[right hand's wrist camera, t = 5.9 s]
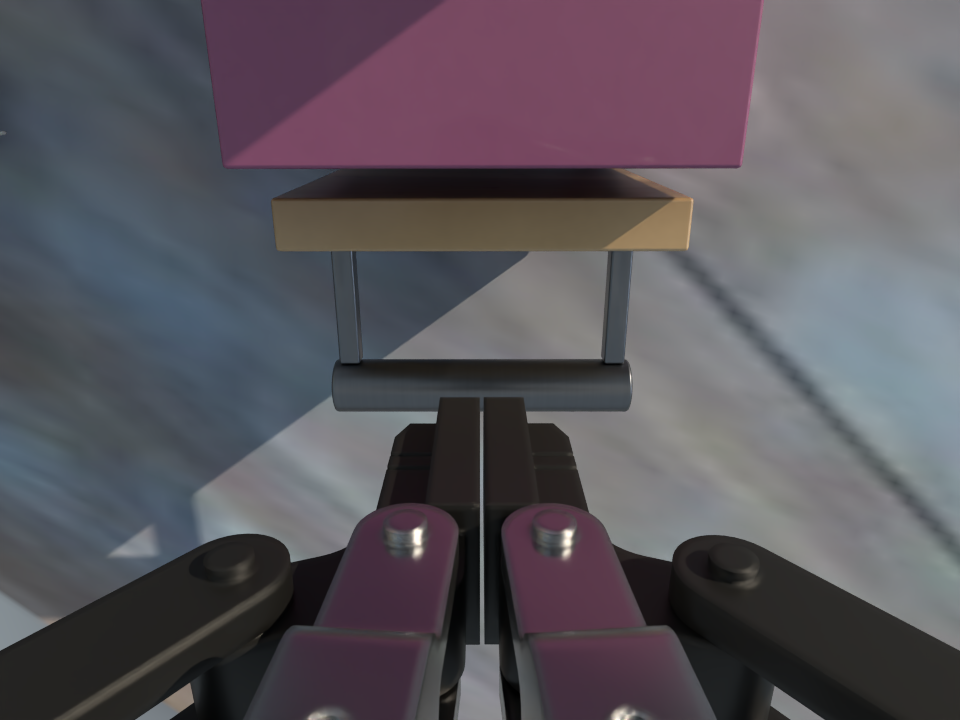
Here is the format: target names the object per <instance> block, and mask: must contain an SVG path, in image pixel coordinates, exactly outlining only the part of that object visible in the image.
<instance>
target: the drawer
mask: <svg viewBox="0 0 960 720" xmlns="http://www.w3.org/2000/svg"><path fill="white" fill-rule="evenodd" d="M271 207H272V216H273V225H274V234H275V243H276V249H277V250H278V251H331V257H332V269H333V282H334V294H335V306H336V319H337V331H338V343H339V356H340V359H339V360H337V361H336V363H335V365H334V369H333V375H332V398H333V403H334V406H335V409H336V410H337V411H438V408H439V400H440V397H480V411H484V397H523V398H524V403H525V410H526V411H627V410H628V409H629V407H630V404H631V399H632V373H631V368H630V365H629V362H628V361H627V360H625V359H624V356H625V344H626V332H627V319H628V307H629V295H630V282H631V270H632V258H633V251H686V250H687V249H688V247H689V238H690V229H691V220H692V211H693V199H692V198H690V197H688V196H685V195H683V194H681V193H678V192H676V191H674V190H671V189H669V188H667V187H664V186H662V185H659V184H657V183H655V182H652V181H650V180H648V179H645V178H643V177H641V176H638V175H636V174H634V173H631V172H629V171H627V170H624V169H622V168H518V169H340V170H338V171H336V172H333V173H331V174H329V175H326V176H324V177H322V178H319V179H317V180H315V181H312V182H310V183H308V184H305V185H303V186H301V187H299V188H296V189H294V190H292V191H289V192H287V193H285V194H282V195H280V196H278V197H275V198H273V199H272V200H271ZM356 251H608V263H607V278H606V293H605V308H604V322H603V337H602V352H601V357H602V359H362V357H363V352H362V337H361V322H360V307H359V293H358V278H357V263H356Z"/></svg>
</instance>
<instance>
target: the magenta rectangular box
mask: <svg viewBox="0 0 960 720" xmlns="http://www.w3.org/2000/svg"><path fill="white" fill-rule="evenodd" d="M763 3H764V0H201V5H202V13H203V20H204V28H205V35H206V43H207V50H208V58H209V65H210V73H211V80H212V88H213V95H214V103H215V110H216V118H217V125H218V133H219V140H220V148H221V155H222V163H223V166H224V167H225V168H227V169H518V168H739V167H741V165H742V160H743V153H744V145H745V138H746V130H747V123H748V115H749V108H750V100H751V93H752V85H753V78H754V70H755V63H756V55H757V48H758V40H759V33H760V25H761V18H762V10H763Z"/></svg>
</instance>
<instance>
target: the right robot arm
mask: <svg viewBox="0 0 960 720" xmlns="http://www.w3.org/2000/svg"><path fill="white" fill-rule="evenodd" d="M483 514H484V630H485V644H499V658H500V674H499V696H500V704H501V712H502V720H790V719H789V718H787V717H786V716H784V715H783V714H781V713H780V712H779V711H777V710H776V709H774V708H773V707H772V706H770V705H771V700H772V695H773V690H774V685H775V686H776V687H778V688H779V689H781V690H782V691H783V692H785V693H786V694H788V695H789V696H791V697H792V698H794V699H795V700H797V701H798V702H800V703H801V704H803V705H804V706H806V707H807V708H808V709H810V710H811V711H813V712H814V713H816V714H817V715H819V716H820V717H822V718H823V719H825V720H960V651H959V650H957V649H955V648H953V647H952V646H950V645H948V644H946V643H944V642H942V641H940V640H938V639H936V638H934V637H932V636H931V635H929V634H927V633H925V632H923V631H921V630H919V629H917V628H915V627H913V626H911V625H910V624H908V623H906V622H904V621H902V620H900V619H898V618H896V617H894V616H892V615H890V614H889V613H887V612H885V611H883V610H881V609H879V608H877V607H875V606H873V605H871V604H869V603H868V602H866V601H864V600H862V599H860V598H858V597H856V596H854V595H852V594H850V593H849V592H847V591H845V590H843V589H841V588H839V587H837V586H835V585H833V584H831V583H829V582H828V581H826V580H824V579H822V578H820V577H818V576H816V575H814V574H812V573H810V572H808V571H807V570H805V569H803V568H801V567H799V566H797V565H795V564H793V563H791V562H789V561H787V560H786V559H784V558H782V557H780V556H778V555H776V554H774V553H772V552H770V551H768V550H767V549H765V548H763V547H761V546H758V545H756V544H754V543H751V542H748V541H746V540H742V539H739V538H735V537H729V536H721V535H705V536H699V537H695V538H691V539H689V540H687V541H685V542H683V543H682V544H680V545H679V546H678V547H677V549H676V550H675V552H674V554H673V559H672V562H670V561H665V560H660V559H656V558H651V557H646V556H642V555H638V554H634V553H632V552H629V551H626V550H624V549H622V548H619V547H617V546H615V545H614V544H612V543H611V540H610V538H609V536H608V533H607V531H606V529H605V527H604V525H603V524H602V523H601V522H600V521H599V520H598V519H597V518H596V517H595V516H593V515H592V514H590V513H589V511H588V507H587V503H586V500H585V496H584V492H583V489H582V485H581V481H580V477H579V474H578V470H577V469H576V463H575V459H574V456H573V452H572V448H571V444H570V440H569V437H568V436H567V435H566V434H565V433H563V432H562V431H561V430H560V429H559V428H558V427H557V426H555V425H554V424H553V423H527V417H526V410H525V403H524V398H523V397H484V416H483ZM466 645H480V397H440V400H439V408H438V415H437V422H436V424H409V425H408V426H407V427H406V428H405V429H404V430H403V431H401V432H400V433H399V434H398V435H397V436H396V437H395V439H394V443H393V447H392V451H391V456H390V459H389V462H388V469H387V470H386V474H385V478H384V482H383V486H382V490H381V493H380V497H379V501H378V505H377V509H376V511H373V512H372V513H370V514H368V515H367V516H365V517H364V518H363V519H362V520H361V521H360V522H359V523H358V524H357V525H356V527H355V529H354V531H353V533H352V536H351V538H350V540H349V543H348V545H347V547H346V548H344V549H342V550H340V551H337V552H334V553H331V554H328V555H324V556H320V557H315V558H310V559H306V560H301V561H296V562H292V563H291V561H290V554H289V551H288V549H287V548H286V546H285V545H284V544H283V543H281V542H280V541H279V540H277V539H275V538H273V537H269V536H266V535H260V534H237V535H231V536H226V537H223V538H219V539H216V540H213V541H210V542H208V543H206V544H203V545H201V546H199V547H197V548H195V549H193V550H192V551H190V552H188V553H186V554H184V555H182V556H180V557H178V558H176V559H174V560H173V561H171V562H169V563H167V564H165V565H163V566H161V567H159V568H157V569H155V570H153V571H152V572H150V573H148V574H146V575H144V576H142V577H140V578H138V579H136V580H134V581H132V582H131V583H129V584H127V585H125V586H123V587H121V588H119V589H117V590H115V591H113V592H111V593H110V594H108V595H106V596H104V597H102V598H100V599H98V600H96V601H94V602H92V603H91V604H89V605H87V606H85V607H83V608H81V609H79V610H77V611H75V612H73V613H71V614H70V615H68V616H66V617H64V618H62V619H60V620H58V621H56V622H54V623H52V624H50V625H49V626H47V627H45V628H43V629H41V630H39V631H37V632H35V633H33V634H32V635H30V636H28V637H26V638H24V639H22V640H20V641H18V642H16V643H14V644H12V645H10V646H9V647H7V648H5V649H3V650H1V651H0V720H135V719H137V718H138V717H140V716H141V715H143V714H144V713H146V712H147V711H149V710H150V709H151V708H153V707H154V706H156V705H157V704H159V703H160V702H162V701H163V700H165V699H166V698H168V697H169V696H171V695H172V694H174V693H175V692H177V691H178V690H179V689H181V688H182V687H184V686H185V685H187V684H188V683H190V684H191V689H192V694H193V699H194V703H193V704H191V705H190V706H188V707H187V708H186V709H184V710H183V711H181V712H180V713H179V714H177V715H176V716H174V717H173V718H172V719H170V720H458V712H459V704H460V696H461V676H462V673H463V671H464V667H465V651H466Z"/></svg>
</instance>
